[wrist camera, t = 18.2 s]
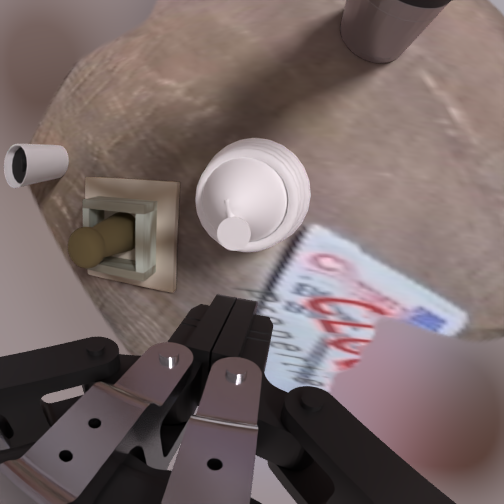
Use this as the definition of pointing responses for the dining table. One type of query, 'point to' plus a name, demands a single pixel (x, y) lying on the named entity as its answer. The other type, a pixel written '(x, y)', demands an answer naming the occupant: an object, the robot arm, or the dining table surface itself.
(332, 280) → the dining table surface
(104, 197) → the stand
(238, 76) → the dining table surface
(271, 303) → the dining table surface
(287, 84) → the dining table surface
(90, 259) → the brown rounded tapered piece
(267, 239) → the honey pot
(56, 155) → the white cup
